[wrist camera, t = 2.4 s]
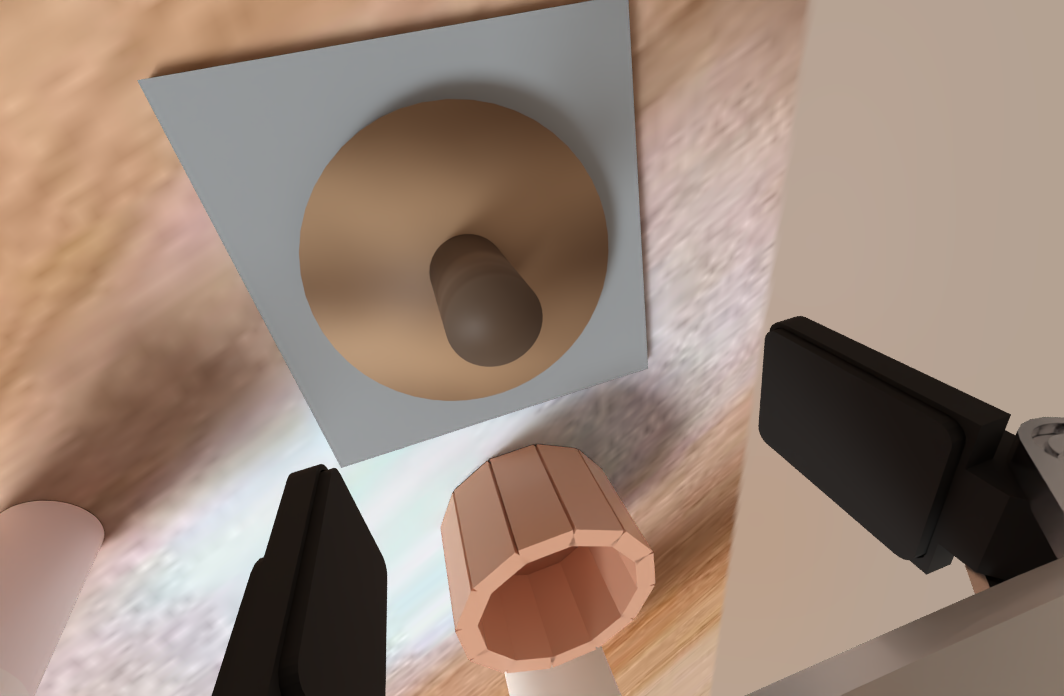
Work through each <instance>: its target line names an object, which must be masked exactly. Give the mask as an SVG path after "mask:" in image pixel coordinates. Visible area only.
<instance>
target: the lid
mask: <svg viewBox="0 0 1064 696" xmlns="http://www.w3.org/2000/svg"><path fill="white" fill-rule="evenodd" d="M299 261H300V274H301V279H302V283H303V287H304V292H305V296H306V298H307V301H308V303H309V306H310V309H311V311H312V314H313V316H314V318H315V319H316V321H317V323H318V325H319V327H320V328H321V330H322V332H323V333H324V335H325V336H326V337H327V339H328V340H329V341H330V343H331V344H332V345H333V347H334V348H335V349H336V350H337V351H338V352H339V353H340V354H341V355H342V356H343V357H344V358H345V359H346V360H347V361H348V362H349V363H350V364H351V365H353V366H354V367H355V368H356V369H358V370H359V371H360V372H362V373H363V374H364V375H366V376H368V377H369V378H371V379H373V380H374V381H376V382H378V383H379V384H382V385H384V386H386V387H388V388H391V389H393V390H395V391H398V392H401V393H404V394H407V395H411V396H414V397H419V398H425V399H430V400H442V401H462V400H472V399H479V398H485V397H488V396H492V395H496V394H500V393H503V392H505V391H508V390H510V389H513V388H516V387H518V386H520V385H522V384H524V383H526V382H528V381H530V380H531V379H533V378H535V377H536V376H538V375H539V374H541V373H542V372H544V371H545V370H547V369H548V368H549V367H550V366H551V365H553V364H554V363H555V362H556V361H558V360H559V359H560V358H561V357H562V356H563V355H564V354H565V353H566V352H567V351H568V350H569V349H570V348H571V346H572V345H573V344H574V342H575V341H576V340H577V339H578V337H579V336H580V335H581V333H582V332H583V330H584V329H585V327H586V325H587V324H588V322H589V321H590V319H591V317H592V315H593V312H594V310H595V308H596V306H597V304H598V301H599V298H600V295H601V292H602V289H603V286H604V281H605V277H606V272H607V263H608V231H607V225H606V219H605V214H604V211H603V207H602V204H601V200H600V197H599V195H598V193H597V190H596V188H595V186H594V184H593V181H592V179H591V178H590V176H589V174H588V173H587V171H586V169H585V168H584V166H583V165H582V163H581V162H580V160H579V159H578V158H577V157H576V156H575V154H574V153H573V152H572V151H571V149H570V148H569V147H568V146H567V145H566V144H565V143H564V142H563V141H562V140H560V139H559V138H558V137H557V136H556V135H555V134H554V133H553V132H551V131H550V130H548V129H547V128H546V127H544V126H543V125H541V124H540V123H538V122H537V121H535V120H534V119H532V118H529V117H527V116H525V115H523V114H521V113H519V112H517V111H515V110H512V109H509V108H506V107H503V106H500V105H497V104H494V103H488V102H482V101H476V100H468V99H443V100H436V101H428V102H421V103H417V104H414V105H410V106H407V107H403V108H400V109H398V110H395V111H393V112H391V113H389V114H387V115H384V116H382V117H380V118H378V119H377V120H375V121H374V122H372V123H371V124H369V125H368V126H366V127H365V128H363V129H361V130H360V131H359V132H358V133H357V134H355V135H354V136H353V137H352V138H351V139H350V140H349V141H348V142H347V143H346V144H344V145H343V146H342V147H341V148H340V150H339V151H338V152H337V153H336V155H335V156H334V157H333V158H332V160H331V161H330V162H329V163H328V165H327V166H326V167H325V169H324V170H323V172H322V174H321V176H320V177H319V179H318V181H317V182H316V184H315V186H314V188H313V190H312V193H311V196H310V198H309V201H308V203H307V206H306V208H305V213H304V217H303V221H302V226H301V230H300V244H299Z"/></svg>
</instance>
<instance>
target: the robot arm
mask: <svg viewBox="0 0 1064 696" xmlns="http://www.w3.org/2000/svg"><path fill="white" fill-rule="evenodd" d="M1010 416H1011V414H1009V413H1006V412H1004V411H1002V410H1000V409H998V408H996V407H994V406H992V405H989V404H987V403H985V402H983V401H981V400H979V399H977V398H975V397H972V396H970V395H968V394H966V393H964V392H962V391H960V390H958V389H956V388H954V387H951V386H949V385H947V384H945V383H943V382H941V381H939V380H937V379H934V378H933V377H930V376H928V375H926V374H924V373H922V372H920V371H918V370H916V369H914V368H911V367H909V366H907V365H905V364H903V363H901V362H899V361H896V360H895V359H892V358H890V357H888V356H886V355H884V354H882V353H880V352H877V351H876V350H873V349H871V348H869V347H867V346H865V345H863V344H861V343H859V342H856V341H854V340H852V339H850V338H848V337H846V336H844V335H842V334H840V333H838V332H835V331H833V330H831V329H829V328H827V327H825V326H823V325H820V324H819V323H816V322H814V321H812V320H810V319H808V318H806V317H803V316H797V317H793V318H790V319H787V320H784V321H780V322H777V323H775V324H773V325H772V326H771V328H770V332H768V333H767V335H766V337H765V345H764V359H763V373H762V386H761V400H760V413H759V432H760V435H761V437H762V438H763V440H764V441H765V442H766V443H767V444H768V445H769V446H770V447H771V448H772V449H774V450H775V451H776V452H777V453H778V454H780V455H781V456H782V457H783V458H784V459H785V460H787V461H788V462H789V463H790V464H791V465H792V466H793V467H795V468H796V469H797V470H798V471H799V472H801V473H802V474H803V475H804V476H805V477H806V478H807V479H808V480H810V481H811V482H812V483H813V484H814V485H815V486H817V487H818V488H819V489H820V490H821V491H823V492H824V493H825V494H826V495H827V496H828V497H829V498H831V499H832V500H833V501H834V502H835V503H836V504H838V505H839V506H840V507H841V508H842V509H843V510H845V511H846V512H847V513H848V514H849V515H850V516H851V517H853V518H854V519H855V520H856V521H857V522H858V523H860V524H861V525H862V526H863V527H864V528H865V529H867V530H868V531H869V532H870V533H871V534H872V535H873V536H875V537H876V538H877V539H878V540H879V541H880V542H882V543H883V544H884V545H885V546H886V547H887V548H889V549H890V550H891V551H892V552H893V553H894V554H896V555H897V556H899V557H900V558H902V559H905V560H910V561H911V562H912V563H913V564H915V565H916V566H917V567H918V568H919V569H920V570H922V571H923V572H924V573H925V574H929V573H931V572H933V571H936V570H938V569H940V568H943V567H945V566H947V565H950V564H951V562H952V559H953V557H954V556H955V557H957V558H958V559H959V560H960V561H962V562H963V563H964V564H965V567H966V570H967V572H968V575H969V578H970V581H971V584H972V586H973V590H974V592H975V595H972V596H970V597H968V598H966V599H963V600H961V601H959V602H956V603H954V604H952V605H950V606H947V607H945V608H943V609H940V610H938V611H936V612H933V613H931V614H929V615H927V616H924V617H922V618H920V619H917V620H915V621H913V622H911V623H908V624H906V625H904V626H902V627H899V628H897V629H894V630H892V631H890V632H888V633H885V634H883V635H881V636H879V637H876V638H874V639H872V640H870V641H867V642H865V643H863V644H860V645H858V646H856V647H854V648H851V649H850V650H847V651H845V652H842V653H840V654H838V655H836V656H834V657H831V658H829V659H827V660H824V661H822V662H820V663H818V664H816V665H813V666H811V667H808V668H806V669H804V670H802V671H799V672H797V673H795V674H793V675H790V676H788V677H786V678H784V679H781V680H779V681H777V682H775V683H772V684H770V685H768V686H766V687H763V688H761V689H759V690H757V691H754V692H752V693H750V694H748V695H745V696H1064V418H1060V417H1059V418H1058V417H1042V418H1036V419H1030V420H1029V421H1026V422H1024V423H1022V424H1021V426H1020V427H1019V429H1018V431H1017V434H1016V435H1014V434H1011V433H1009V432H1008V431H1005V428H1006V425H1007V423H1008V421H1009V418H1010ZM386 623H387V569H386V564H385V561H384V558H383V556H382V554H381V552H380V550H379V548H378V546H377V544H376V542H375V540H374V539H373V537H372V535H371V533H370V531H369V529H368V527H367V525H366V523H365V521H364V519H363V517H362V515H361V513H360V511H359V509H358V508H357V506H356V504H355V502H354V500H353V498H352V496H351V494H350V492H349V490H348V488H347V486H346V484H345V482H344V480H343V478H342V477H341V475H340V473H339V471H338V470H337V469H336V468H332V469H329V470H328V469H327V467H326V466H325V465H323V464H319V465H316V466H313V467H310V468H307V469H303V470H300V471H297V472H294V473H291V474H290V475H289V477H288V479H287V482H286V485H285V489H284V492H283V495H282V499H281V502H280V505H279V509H278V512H277V515H276V519H275V522H274V525H273V529H272V532H271V535H270V539H269V542H268V545H267V549H266V552H265V555H264V557H263V558H260V559H259V560H258V561H257V562H256V563H255V565H254V567H253V569H252V571H251V574H250V577H249V580H248V583H247V586H246V589H245V593H244V596H243V599H242V602H241V605H240V608H239V611H238V615H237V618H236V621H235V624H234V627H233V630H232V633H231V637H230V640H229V643H228V646H227V649H226V652H225V655H224V659H223V662H222V665H221V668H220V671H219V674H218V677H217V681H216V684H215V687H214V690H213V693H212V696H385V688H386Z"/></svg>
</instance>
